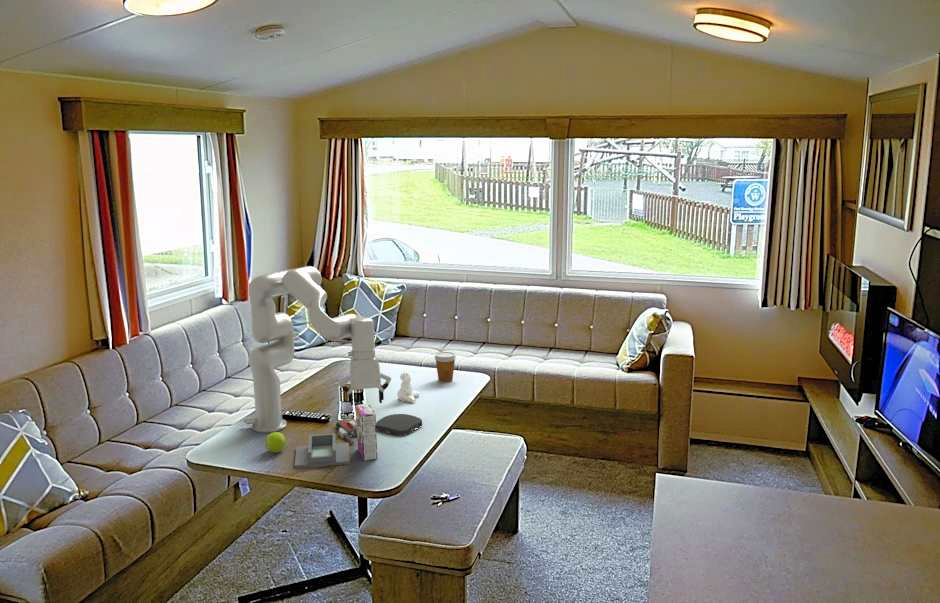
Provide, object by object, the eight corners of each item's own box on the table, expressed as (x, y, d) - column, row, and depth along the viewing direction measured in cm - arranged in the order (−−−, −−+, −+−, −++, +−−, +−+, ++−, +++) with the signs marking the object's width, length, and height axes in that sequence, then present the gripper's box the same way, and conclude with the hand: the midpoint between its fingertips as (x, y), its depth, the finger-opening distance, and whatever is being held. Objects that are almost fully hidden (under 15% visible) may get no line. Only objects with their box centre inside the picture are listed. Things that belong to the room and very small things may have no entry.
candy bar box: (356, 449, 266) (354, 404, 263) (370, 447, 268) (369, 402, 264) (363, 461, 256) (361, 415, 253) (377, 459, 258) (376, 413, 254)
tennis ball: (265, 456, 260) (264, 437, 259) (265, 449, 267) (264, 430, 265) (286, 454, 262) (285, 435, 261) (285, 446, 269) (284, 428, 267)
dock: (294, 468, 251) (293, 454, 250) (296, 449, 267) (296, 435, 265) (349, 464, 254) (349, 450, 253) (348, 445, 270) (348, 431, 269)
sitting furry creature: (415, 403, 311) (414, 375, 308) (394, 402, 312) (393, 374, 310) (420, 396, 320) (419, 368, 318) (400, 395, 321) (399, 367, 319)
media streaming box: (395, 418, 296) (395, 410, 296) (426, 425, 289) (426, 417, 288) (371, 430, 284) (371, 422, 283) (403, 438, 277) (403, 430, 276)
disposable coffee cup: (459, 378, 343) (459, 352, 340) (450, 384, 334) (450, 358, 332) (440, 375, 347) (440, 350, 344) (431, 382, 338) (430, 356, 336)
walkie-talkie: (330, 428, 286) (350, 447, 269) (330, 417, 285) (350, 435, 268) (352, 424, 290) (373, 442, 274) (352, 413, 289) (373, 430, 273)
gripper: (337, 359, 249) (340, 408, 253) (390, 355, 252) (392, 404, 256) (337, 353, 256) (340, 401, 260) (389, 349, 259) (391, 397, 263)
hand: (366, 403), depth 258 cm, fingers open, 9 cm apart
